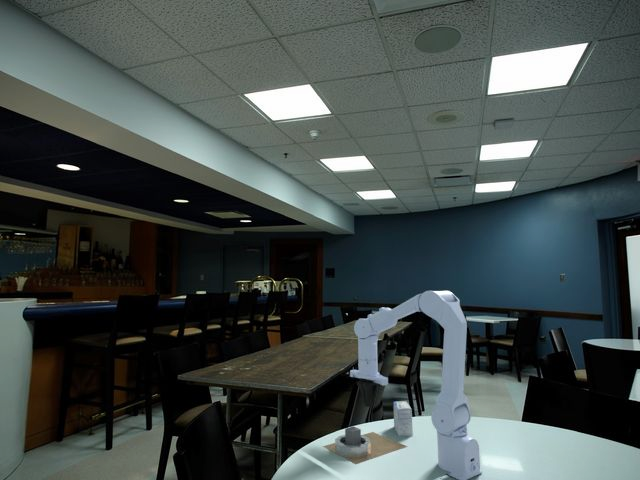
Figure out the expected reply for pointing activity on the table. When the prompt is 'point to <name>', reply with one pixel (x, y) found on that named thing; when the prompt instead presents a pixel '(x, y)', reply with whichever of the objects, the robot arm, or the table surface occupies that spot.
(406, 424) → the medicine box
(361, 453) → the board with octagonal ring
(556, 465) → the table surface
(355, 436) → the cap
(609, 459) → the table surface
